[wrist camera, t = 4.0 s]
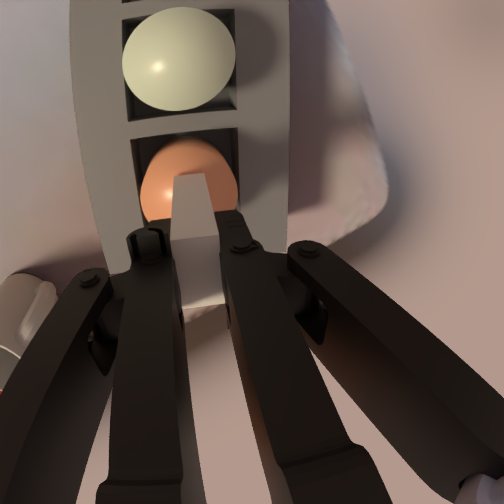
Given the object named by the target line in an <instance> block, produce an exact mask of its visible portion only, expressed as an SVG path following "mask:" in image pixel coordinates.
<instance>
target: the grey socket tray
mask: <svg viewBox="0 0 504 504" xmlns="http://www.w3.org/2000/svg"><path fill="white" fill-rule="evenodd" d="M175 7H191V8H196V9H200V10H203V11H206V12H208V13H210V14H212V15H213V16H215V17H216V18H218V19H219V20H220V21H221V22H222V23H223V24H224V25H225V26H226V28H227V29H228V31H229V32H230V34H231V36H232V39H233V41H234V46H235V53H236V55H235V65H234V69H233V72H232V75H231V77H230V79H229V81H228V82H227V84H226V85H225V87H224V88H223V89H222V90H221V91H220V92H219V93H218V94H217V95H216V96H215V97H213V98H212V99H211V100H209V101H208V102H206V103H204V104H202V105H200V106H197V107H195V108H191V109H188V110H182V111H167V110H162V109H158V108H155V107H152V106H150V105H148V104H146V103H144V102H143V101H141V100H140V99H139V98H138V97H137V96H136V95H135V94H134V93H133V92H132V91H131V89H130V88H129V86H128V85H127V82H126V80H125V77H124V74H123V68H122V58H123V52H124V48H125V45H126V43H127V41H128V39H129V37H130V35H131V34H132V32H133V31H134V30H135V29H136V27H137V26H138V25H139V24H141V23H142V22H143V21H144V20H145V19H147V18H148V17H150V16H152V15H153V14H155V13H157V12H160V11H162V10H166V9H169V8H175ZM70 60H71V76H72V88H73V99H74V108H75V116H76V124H77V131H78V138H79V144H80V150H81V156H82V162H83V167H84V173H85V178H86V183H87V188H88V192H89V197H90V201H91V206H92V210H93V214H94V218H95V222H96V226H97V230H98V234H99V238H100V242H101V245H102V249H103V252H104V256H105V259H106V263H107V266H108V269H109V273H110V274H116V273H123V272H126V271H127V270H129V269H130V266H131V258H130V254H129V250H128V246H127V242H126V238H127V236H128V235H129V234H130V233H131V232H133V231H135V230H137V229H139V228H143V227H145V226H146V225H147V224H148V223H149V222H148V220H147V219H146V217H145V215H144V212H143V210H142V206H141V200H140V193H141V187H142V183H143V180H144V177H145V174H146V172H147V169H148V166H149V163H150V161H151V158H152V157H153V155H154V153H155V152H156V151H157V150H158V148H159V147H160V146H162V145H163V144H164V143H166V142H167V141H169V140H171V139H173V138H176V137H180V136H197V137H201V138H204V139H206V140H208V141H210V142H211V143H213V144H214V145H215V146H216V147H217V148H218V149H219V150H220V151H221V153H222V155H223V156H224V158H225V160H226V162H227V164H228V166H229V168H230V169H231V171H232V173H233V175H234V178H235V180H236V184H237V189H238V199H237V204H236V208H235V210H237V211H238V212H240V213H241V214H242V215H243V217H244V219H245V222H246V224H247V226H248V228H249V231H250V233H251V235H252V238H253V239H254V240H257V241H259V242H260V243H261V245H262V246H263V248H264V250H265V251H268V252H272V253H280V252H286V243H287V217H288V185H289V137H290V39H289V0H70Z"/></svg>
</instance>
